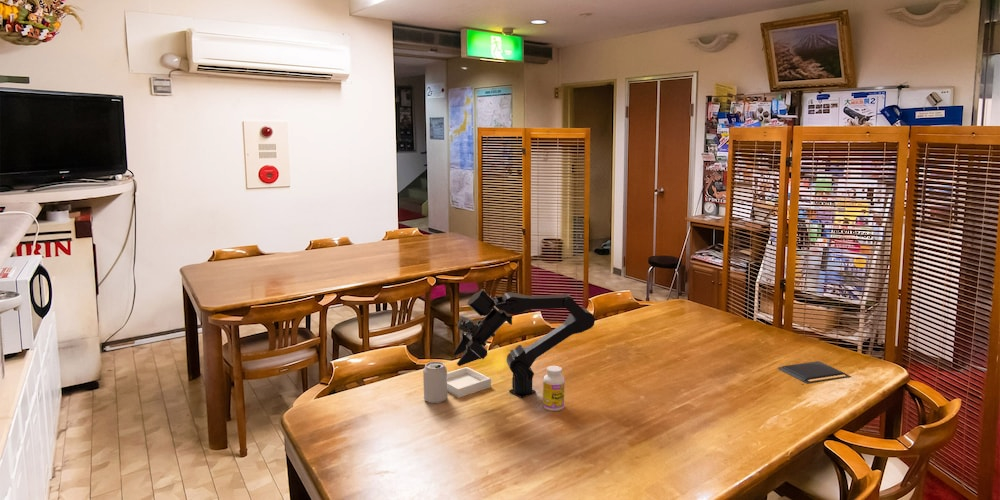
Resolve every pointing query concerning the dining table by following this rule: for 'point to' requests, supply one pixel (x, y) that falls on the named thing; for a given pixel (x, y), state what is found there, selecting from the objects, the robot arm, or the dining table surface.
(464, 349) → the robot arm
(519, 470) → the dining table surface
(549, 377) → the supplement bottle
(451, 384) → the tray
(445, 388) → the can
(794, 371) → the dark grey book
